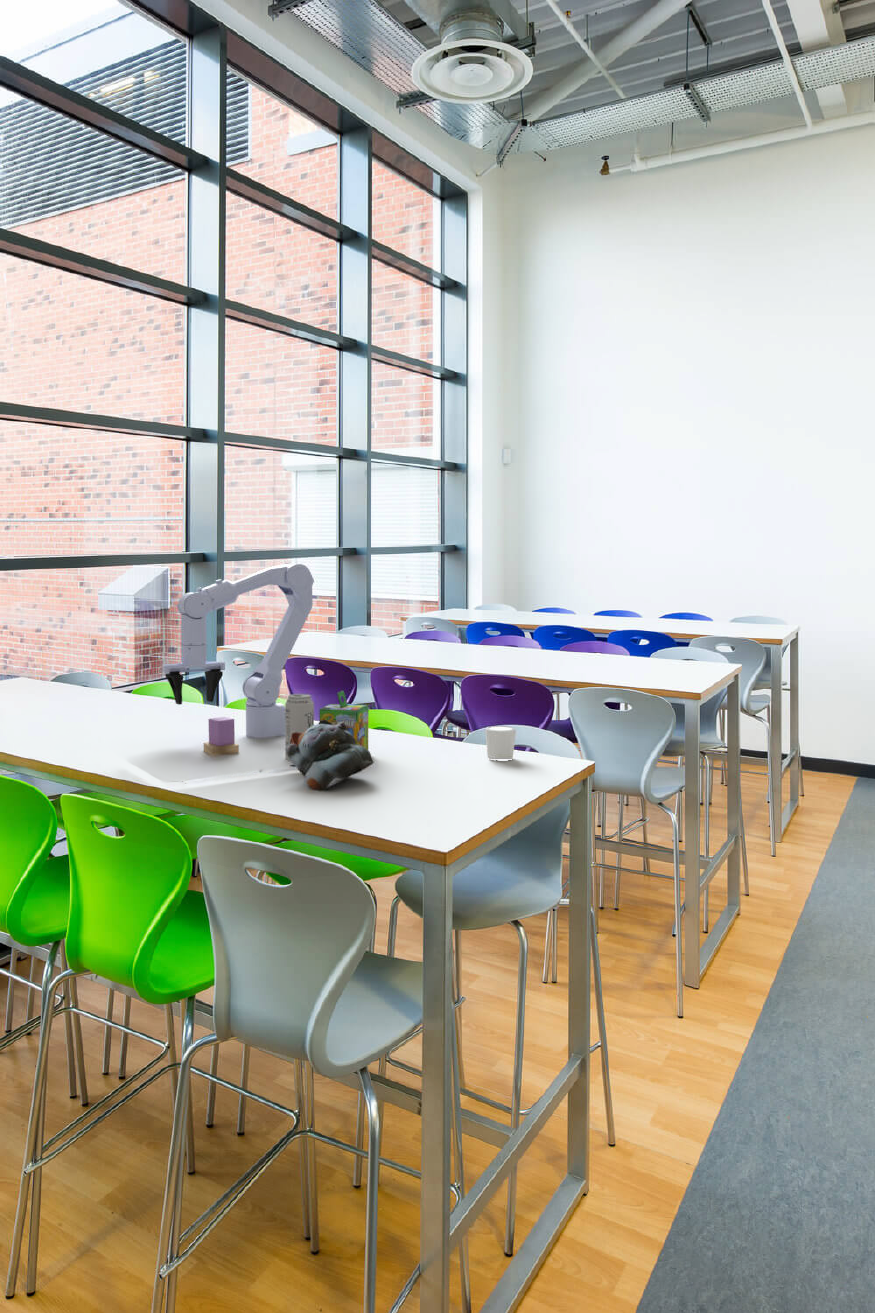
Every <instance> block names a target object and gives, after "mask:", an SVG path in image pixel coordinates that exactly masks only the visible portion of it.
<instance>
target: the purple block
mask: <svg viewBox="0 0 875 1313" xmlns="http://www.w3.org/2000/svg"><path fill="white" fill-rule="evenodd" d="M235 737H236V736H235V718H230V717H227V716H226V717H225V716H220V717H219V716H218V717H214V718H208V742H209V744H213V745H217V746H222V745H229V744H235V743H236V742H235Z"/></svg>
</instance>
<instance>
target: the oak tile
mask: <svg viewBox="0 0 875 1313" xmlns="http://www.w3.org/2000/svg"><path fill="white" fill-rule="evenodd" d="M239 748H240V746H239V744H237V743H236V742H235V744H229V745H222V746H217V745H213V744H209V741H208V742H203V752H205V753H206V754H207V755H210V756H211V757H214V756H217V757H218V756H224V755H235V754H240V752H239V751H240V749H239Z"/></svg>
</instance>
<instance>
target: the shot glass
mask: <svg viewBox="0 0 875 1313" xmlns="http://www.w3.org/2000/svg"><path fill="white" fill-rule="evenodd" d="M516 733H517V729H516V728H515V727H511V726H507V725H506V726H505V725H494V726H493V725H492V726H486V727H485V738H486V739H485V740H486V741H485V742H486V753H487V754H486V755H487V756H486V757H488V758H489V759H512V758H513V757H514V749H515V742H516V741H515V740H516ZM488 758H487V759H488ZM512 760H513V759H512Z"/></svg>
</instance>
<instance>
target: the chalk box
mask: <svg viewBox="0 0 875 1313" xmlns="http://www.w3.org/2000/svg"><path fill="white" fill-rule="evenodd" d="M337 698H338V699H337V700H338V703H330V704H327V705H325V706H323V707H320V708H319V722H320V721H321V720H323V719H324V720H327V721H328V722H329V723H331V724H332V725H334V726H335V725H337V724H338V723H340V722H343V723H344V724H345V725H346V728H347V731H349V732H350V733H351V734H352V735H353V737H354V738H355V741H356V745H360V746H363V747H365V748H366V749H367V750H368V751H369V705H368V704H353V703H348V702H347V698H346V694H345V691H344V690H341V691H339V692H337ZM342 699H343V701H342Z"/></svg>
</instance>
